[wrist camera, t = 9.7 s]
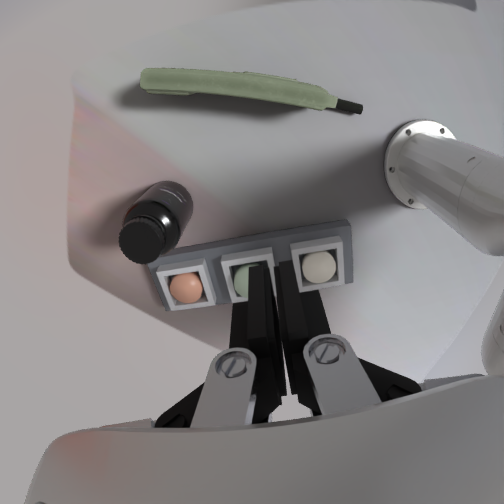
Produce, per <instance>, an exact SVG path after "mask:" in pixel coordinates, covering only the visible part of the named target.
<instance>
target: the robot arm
mask: <svg viewBox="0 0 504 504" xmlns="http://www.w3.org/2000/svg"><path fill="white" fill-rule="evenodd" d="M406 130H407V132H406V133H405V131H406ZM390 167H391V169H390V170H389V168H390ZM384 172H385V177H386V181H387V183H388V186H389V188H390V190H391V191H392V193H393V194H394V195H395V196H396V197H397V198H398V199H399V200H400V201H401V202H402V203H403V204H405V205H407V206H409V207H411V208H415V209H429V210H431V211H432V212H433V213H434V214H436V215H437V216H438V217H439V218H441V219H442V220H443V221H444V222H445V223H447V224H448V225H449V226H450V227H451V228H453V229H454V230H455V231H456V232H457V233H459V234H460V235H461V236H462V237H463V238H464V239H465V240H467V241H468V242H469V243H470V244H471V245H473V246H474V247H475V248H476V249H478V250H479V251H481V252H483V253H485V254H487V255H491V256H504V157H501V156H499V155H496V154H494V153H491V152H489V151H486V150H484V149H481V148H478V147H476V146H473V145H470V144H467V143H464V142H461V141H458V140H456V138H455V137H454V135H453V134H452V133H451V131H450V130H448V129H447V128H446V127H445V126H443V125H442V124H440V123H438V122H435V121H431V120H426V119H424V120H415V121H412V122H409V123H407V124H406V125H404V126H403V127H401V128H400V129H399V130H398V131H397V132H396V133H395V135H394V136H393V137H392V139H391V141H390V143H389V144H388V147H387V150H386V153H385V160H384ZM408 200H409V201H408ZM274 276H275V285H276V295H277V304H278V311H277V306H276V301H275V295H274V290H273V285H272V279H271V274H270V269H269V267H268V268H264V266H263V265H257V266H251V267H249V274H248V301H244V302H237V303H233V308H232V320H231V332H230V344H229V349H227V350H224V351H222V352H221V353H219V354H218V355H217V356H216V357H215V358H214V359H213V361H212V363H211V365H210V368H209V371H208V374H207V377H206V380H205V382H204V383H203V384H202V385H200V386H199V387H198V388H197V389H195V390H194V391H192V392H191V393H190V394H188V395H187V396H186V397H184V398H183V399H182V400H181V401H179V402H178V403H176V404H175V405H174V406H172V407H171V408H170V409H168V410H167V411H166V412H164V413H163V414H162V415H161V416H160V417H159V418H158V419H157V420H155V421H153V420H152V419H151V418H149V419H143V420H138V421H132V422H126V423H120V424H113V425H106V426H102V427H99V428H90V429H82V430H78V431H75V432H70V433H68V434H65V435H62V436H60V437H58V438H57V439H55V440H54V441H53V442H52V443H51V444H50V445H49V446H48V448H47V449H46V451H45V452H44V454H43V456H42V458H41V460H40V462H39V464H38V467H37V469H36V471H35V473H34V476H33V479H32V482H31V484H30V487H29V490H28V493H27V496H26V499H25V503H24V504H504V290H503V292H502V295H501V297H500V300H499V302H498V305H497V307H496V309H495V311H494V313H493V316H492V318H491V320H490V323H489V325H488V328H487V330H486V332H485V335H484V338H483V343H482V350H481V355H482V362H483V365H484V367H485V369H486V371H487V373H488V375H486V376H485V375H482V374H470V375H463V376H455V377H447V378H439V379H428V380H424V383H419V384H417V383H416V382H415V381H413V380H411V379H409V378H407V377H404V376H402V375H399V374H397V373H394V372H392V371H389V370H387V369H384V368H382V367H379V366H377V365H375V364H372V363H370V362H367V361H365V360H363V359H360V358H358V357H357V356H356V354H355V352H354V351H353V349H352V347H351V345H350V343H349V342H348V341H347V340H346V339H345V338H343V337H342V336H339V335H336V334H331V331H330V328H329V324H328V321H327V317H326V314H325V310H324V307H323V303H322V300H321V297H320V293H319V290H312V291H306V292H299V287H298V283H297V278H296V273H295V269H294V264H293V260H287V261H281V262H279V266H274ZM278 314H279V317H278ZM282 345H283V348H282ZM283 350H284V356H285V361H286V366H287V372H288V377H289V382H290V388H291V393H292V395H294V394H297V395H298V401H299V403H301V404H303V405H304V406H306V407H308V408H310V413H311V417H307V418H300V419H293V420H286V421H278V422H272V412H273V411H274V410H275V409H276V408H277V407H278V406H279V405H282V400H281V396H286V395H287V391H286V379H285V369H284V359H283Z"/></svg>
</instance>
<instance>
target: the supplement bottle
mask: <svg viewBox="0 0 504 504" xmlns="http://www.w3.org/2000/svg"><path fill="white" fill-rule="evenodd" d="M192 213H193V201H192V198H191V196H190V194H189V192H188V191H187V190H186V189H185V188H184V187H183V186H182V185H180V184H178V183H176V182H172V181H162V182H159V183H157V184H155V185H153V186H152V187H151V188H149V189H148V190H147V191H146V192H145V193H144V194H143V195H142V196H141V197H140V198H139V199H137V200H136V201H135V202H134V203H133V204H132V205H131V206H130V207H129V208H128V210H127V211H126V213H125V215H124V218H123V224H122V227H123V228H122V229H121V232H120V234H119V235H120V236H119V246H120V248H121V250H122V251H123V254H125V256H126V257H127V258H128V259H129V260H132V261H133V262H136V263H137V264H138V263H139V264H149V263H151V262H154V260H157V258H158V257H159V256H163V255H165V254H167V253H169V252H170V251H172V250H173V249H174V247H175V246H176V245H177V243H178V241H179V239H180V237H181V236H182V234H183V232H184V230H185V228H186V226H187V224H188V222H189V220H190V218H191V216H192Z"/></svg>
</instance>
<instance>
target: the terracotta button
mask: <svg viewBox="0 0 504 504" xmlns="http://www.w3.org/2000/svg"><path fill="white" fill-rule="evenodd" d="M202 289H203V284H202V281H201V277H200V275H199V274H198V273H197V272H189V273H182V274H176V275H174V277H173V279H172V282H171V285H170V291H171V294H172V295H173V297H174V298H175V299H177V300H178V301H180V302H183V303H193V302H195V301H197V300H198V299H199V298H200V297H201V294H202Z"/></svg>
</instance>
